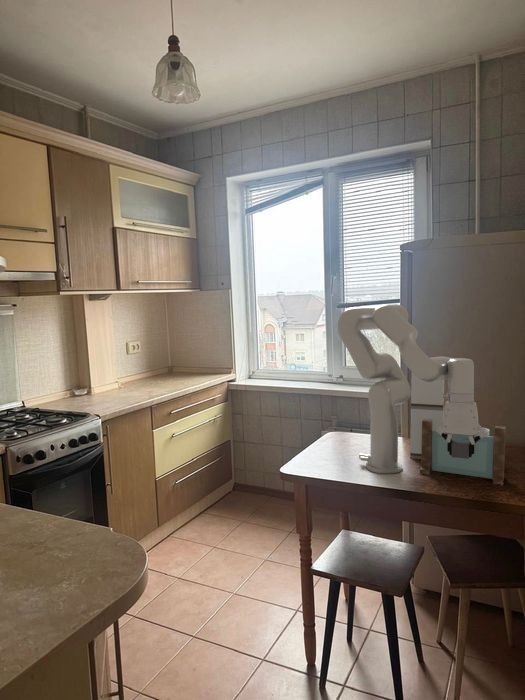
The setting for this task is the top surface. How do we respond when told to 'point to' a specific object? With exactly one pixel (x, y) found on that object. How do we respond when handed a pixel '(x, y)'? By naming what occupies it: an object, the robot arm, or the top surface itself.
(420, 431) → the white block
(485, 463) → the door
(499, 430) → the door frame
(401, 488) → the top surface
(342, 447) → the top surface
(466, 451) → the block
